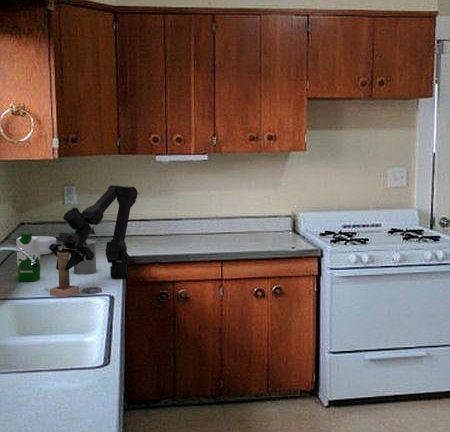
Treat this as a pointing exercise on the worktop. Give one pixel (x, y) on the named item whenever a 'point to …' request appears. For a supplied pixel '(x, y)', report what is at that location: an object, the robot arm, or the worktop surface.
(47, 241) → the paper bowls
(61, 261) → the peg
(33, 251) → the milk carton
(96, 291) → the washer
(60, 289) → the collar
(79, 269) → the pillar candle
